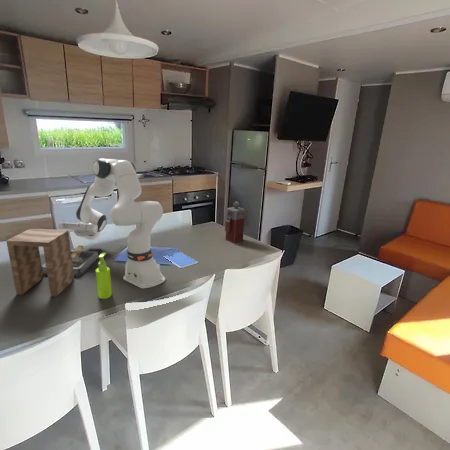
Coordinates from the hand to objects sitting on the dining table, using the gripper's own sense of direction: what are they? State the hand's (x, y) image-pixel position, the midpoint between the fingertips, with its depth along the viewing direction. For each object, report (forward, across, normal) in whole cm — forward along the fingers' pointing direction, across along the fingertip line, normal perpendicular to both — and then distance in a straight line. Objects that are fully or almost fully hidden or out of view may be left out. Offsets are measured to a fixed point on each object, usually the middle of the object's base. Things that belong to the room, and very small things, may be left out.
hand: (70, 224), depth 161 cm
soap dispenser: (+15, +30, +35) cm, 49 cm away
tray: (-8, 0, +21) cm, 23 cm away
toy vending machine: (-53, +88, -4) cm, 103 cm away
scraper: (-11, 0, +16) cm, 20 cm away
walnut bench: (+12, 0, +33) cm, 35 cm away
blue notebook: (-21, +57, +15) cm, 63 cm away
